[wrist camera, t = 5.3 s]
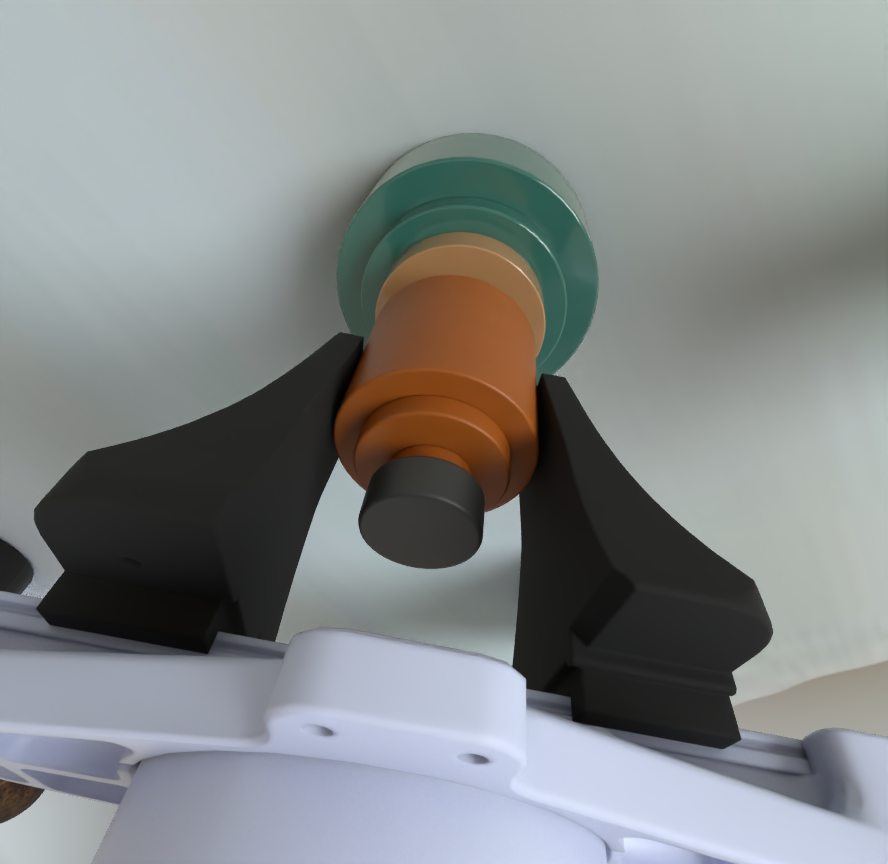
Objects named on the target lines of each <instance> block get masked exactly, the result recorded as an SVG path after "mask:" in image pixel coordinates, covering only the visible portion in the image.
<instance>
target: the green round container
mask: <svg viewBox="0 0 888 864" xmlns="http://www.w3.org/2000/svg"><path fill="white" fill-rule="evenodd" d="M440 275H460V276H467V277H471V278H475V279H479V280H482V281H484V282H486V283H489V284H491V285H493V286H495V287H496V288H498V289H500V290H501V291H503V292H504V293H505V294H507V295H508V296H509V297H511V298H512V299H513V300H514V301H515V302H516V303H517V304H518V306H519V307H520V308H521V310H522V311H523V312H524V314H525V315H526V317H527V319H528V321H529V323H530V325H531V328H532V331H533V335H534V339H535V354H536V380H537V385H538V382H539V379H540V377H541V374H542V373H545V374H550V375H553V374H554V373H555V372H556V371H557V370H559V369H560V368H561V367H562V366H563V365H564V364H565V363H566V362H567V361H568V360H569V358H570V357H571V356H572V355H573V354H574V353H575V351H576V350H577V348H578V347H579V345H580V344H581V342H582V341H583V339H584V337H585V335H586V333H587V331H588V329H589V327H590V324H591V321H592V318H593V315H594V312H595V308H596V303H597V297H598V280H599V278H598V269H597V261H596V257H595V253H594V249H593V245H592V242H591V238H590V234H589V230H588V227H587V223H586V219H585V216H584V212H583V210H582V207H581V205H580V203H579V200H578V198H577V196H576V194H575V193H574V191H573V189H572V188H571V186H570V184H569V183H568V182H567V180H566V179H565V178H564V177H563V175H562V174H561V173H560V172H559V171H558V169H556V168H555V167H554V166H553V165H552V164H551V163H550V162H549V161H548V160H546V159H545V158H544V157H542V156H541V155H539V154H538V153H536V152H535V151H533V150H532V149H530V148H528V147H526V146H524V145H522V144H520V143H518V142H515V141H513V140H509V139H506V138H502V137H499V136H494V135H487V134H457V135H451V136H445V137H442V138H439V139H436V140H432V141H429V142H427V143H425V144H423V145H421V146H419V147H417V148H415V149H413V150H411V151H410V152H408V153H407V154H406V155H404V156H403V157H401V158H400V159H398V160H397V161H396V162H395V163H394V164H393V165H392V166H391V167H390V168H389V169H388V170H387V171H386V172H385V173H384V175H383V176H382V177H381V178H380V180H379V181H378V182H377V184H376V185H375V186H374V188H373V189H372V191H371V192H370V193H369V195H368V196H367V198H366V199H365V200H364V202H363V203H362V204H361V206H360V207H359V209H358V210H357V211H356V213H355V215H354V217H353V218H352V220H351V222H350V224H349V225H348V227H347V230H346V233H345V235H344V238H343V240H342V243H341V248H340V252H339V256H338V265H337V288H338V295H339V300H340V305H341V308H342V311H343V314H344V317H345V320H346V322H347V325H348V327H349V329H350V331H351V333H352V335H357V336H362V337H364V345H363V351H364V348H365V346H366V344H367V341H368V339H369V337H370V334H371V332H372V330H373V327H374V325H375V323H376V320H377V318H378V316H379V314H380V312H381V310H382V308H383V307H384V306H385V304H386V303H387V302H388V301H389V299H390V298H391V297H392V296H393V295H394V294H396V293H397V292H398V291H400V290H401V289H402V288H404V287H406V286H407V285H409V284H411V283H413V282H416V281H418V280H421V279H424V278H428V277H432V276H440Z"/></svg>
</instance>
